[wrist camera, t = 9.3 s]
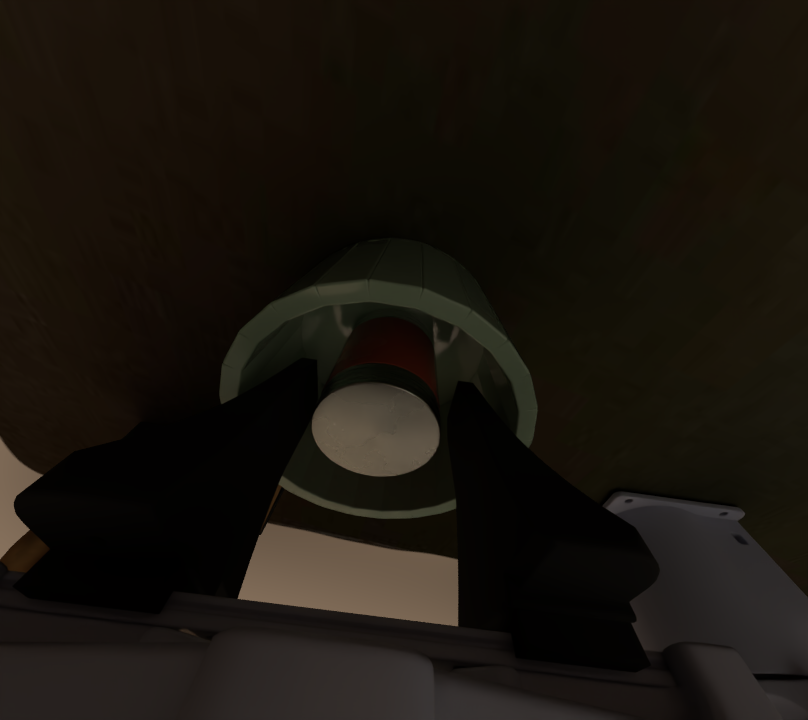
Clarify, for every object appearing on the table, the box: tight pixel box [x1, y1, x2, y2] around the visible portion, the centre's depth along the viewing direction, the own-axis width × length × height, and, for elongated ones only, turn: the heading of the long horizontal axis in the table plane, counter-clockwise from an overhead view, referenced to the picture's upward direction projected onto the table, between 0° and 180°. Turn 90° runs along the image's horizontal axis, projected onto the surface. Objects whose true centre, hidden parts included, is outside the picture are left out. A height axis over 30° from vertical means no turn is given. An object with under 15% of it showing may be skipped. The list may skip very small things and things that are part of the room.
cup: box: [219, 238, 538, 519], centre depth 13 cm, size 10×10×6 cm
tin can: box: [311, 308, 441, 477], centre depth 12 cm, size 4×4×6 cm
